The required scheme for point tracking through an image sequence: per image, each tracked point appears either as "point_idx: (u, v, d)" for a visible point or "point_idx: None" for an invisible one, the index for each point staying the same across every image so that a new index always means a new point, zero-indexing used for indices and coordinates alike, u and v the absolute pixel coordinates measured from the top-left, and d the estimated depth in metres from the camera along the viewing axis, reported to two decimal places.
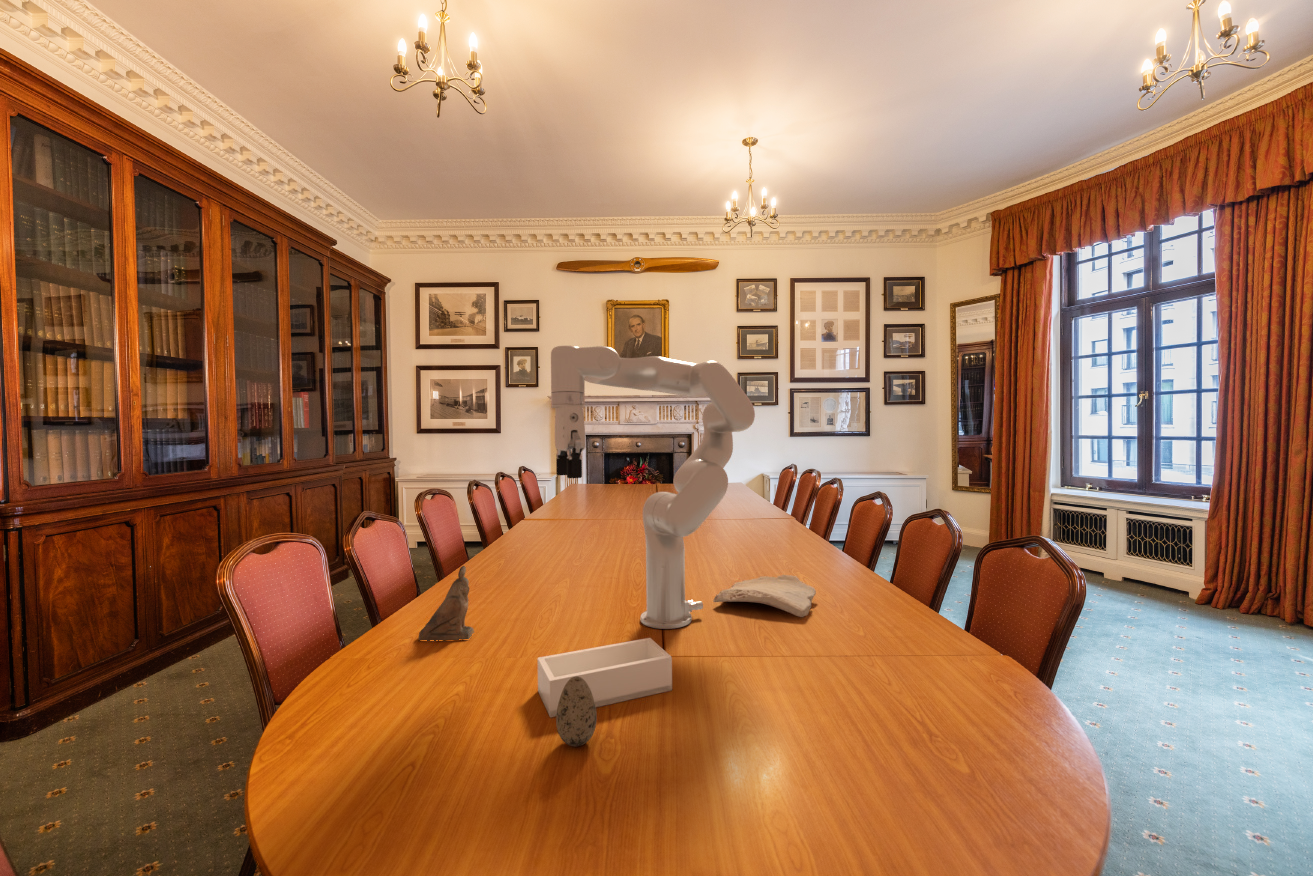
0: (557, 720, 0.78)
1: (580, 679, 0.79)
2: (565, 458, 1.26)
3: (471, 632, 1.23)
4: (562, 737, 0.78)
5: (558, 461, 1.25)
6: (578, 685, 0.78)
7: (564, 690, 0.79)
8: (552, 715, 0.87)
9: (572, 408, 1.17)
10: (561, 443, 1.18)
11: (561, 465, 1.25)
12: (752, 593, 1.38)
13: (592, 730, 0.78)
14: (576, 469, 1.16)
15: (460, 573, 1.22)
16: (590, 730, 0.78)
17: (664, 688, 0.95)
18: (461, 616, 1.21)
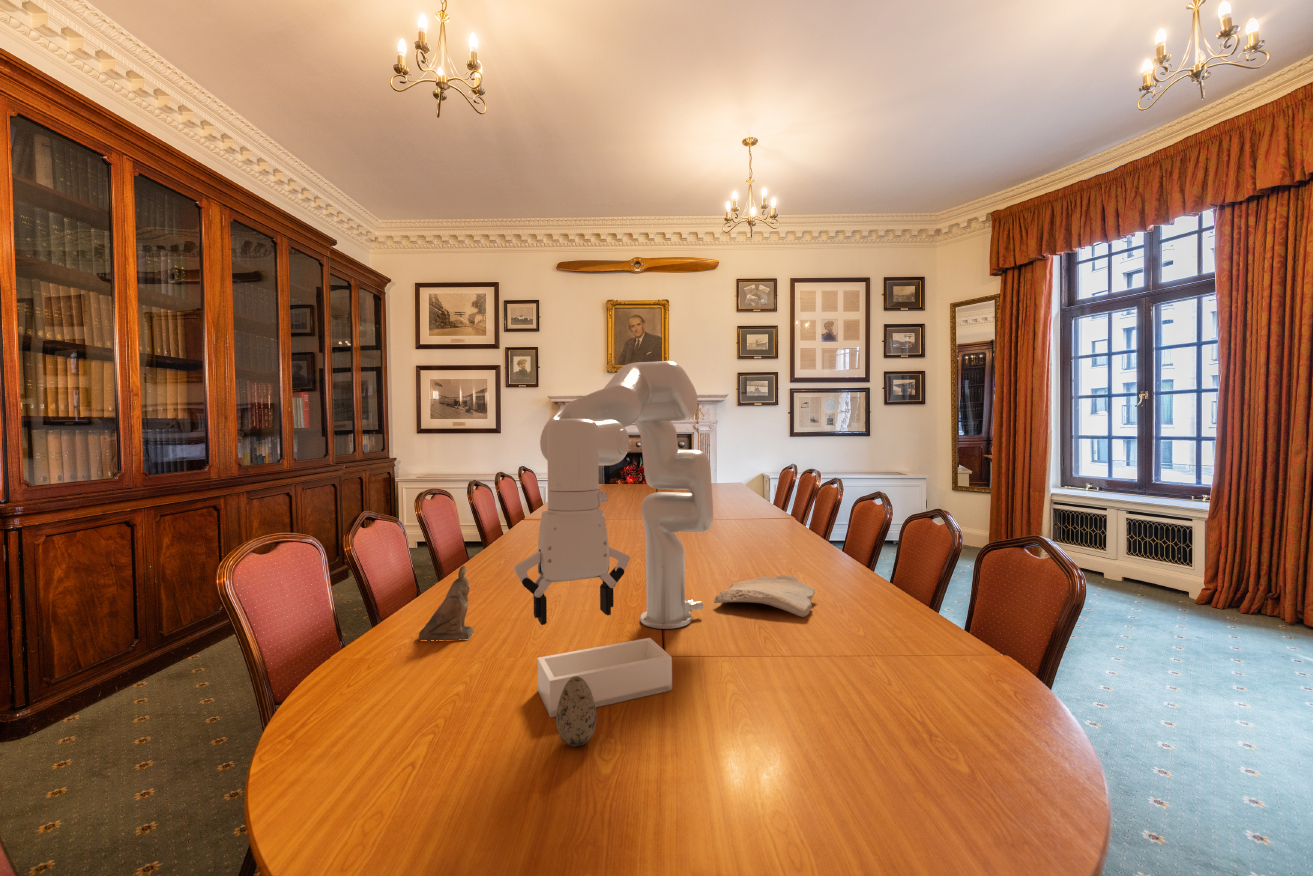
0: (557, 720, 0.78)
1: (580, 679, 0.79)
2: None
3: (471, 632, 1.23)
4: (562, 737, 0.78)
5: None
6: (578, 685, 0.78)
7: (564, 690, 0.79)
8: (552, 715, 0.87)
9: None
10: (594, 568, 0.78)
11: None
12: (753, 593, 1.37)
13: (592, 730, 0.78)
14: None
15: (460, 573, 1.22)
16: (590, 730, 0.78)
17: (664, 688, 0.95)
18: (461, 616, 1.21)
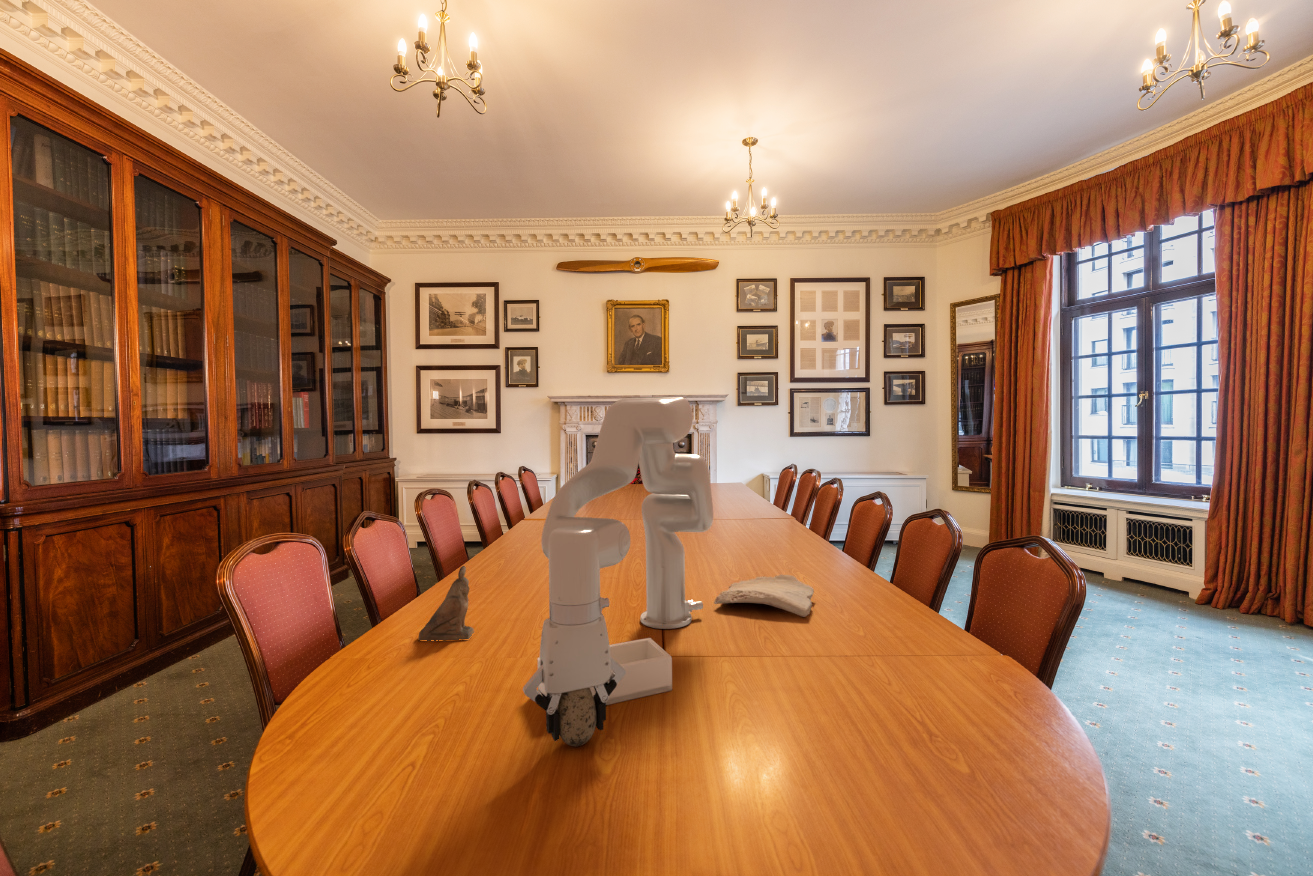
0: None
1: None
2: None
3: (471, 632, 1.23)
4: (562, 737, 0.78)
5: (558, 717, 0.77)
6: None
7: None
8: None
9: None
10: (596, 677, 0.79)
11: None
12: (754, 594, 1.37)
13: (592, 730, 0.78)
14: None
15: (460, 573, 1.22)
16: (590, 730, 0.78)
17: (664, 688, 0.95)
18: (461, 616, 1.21)
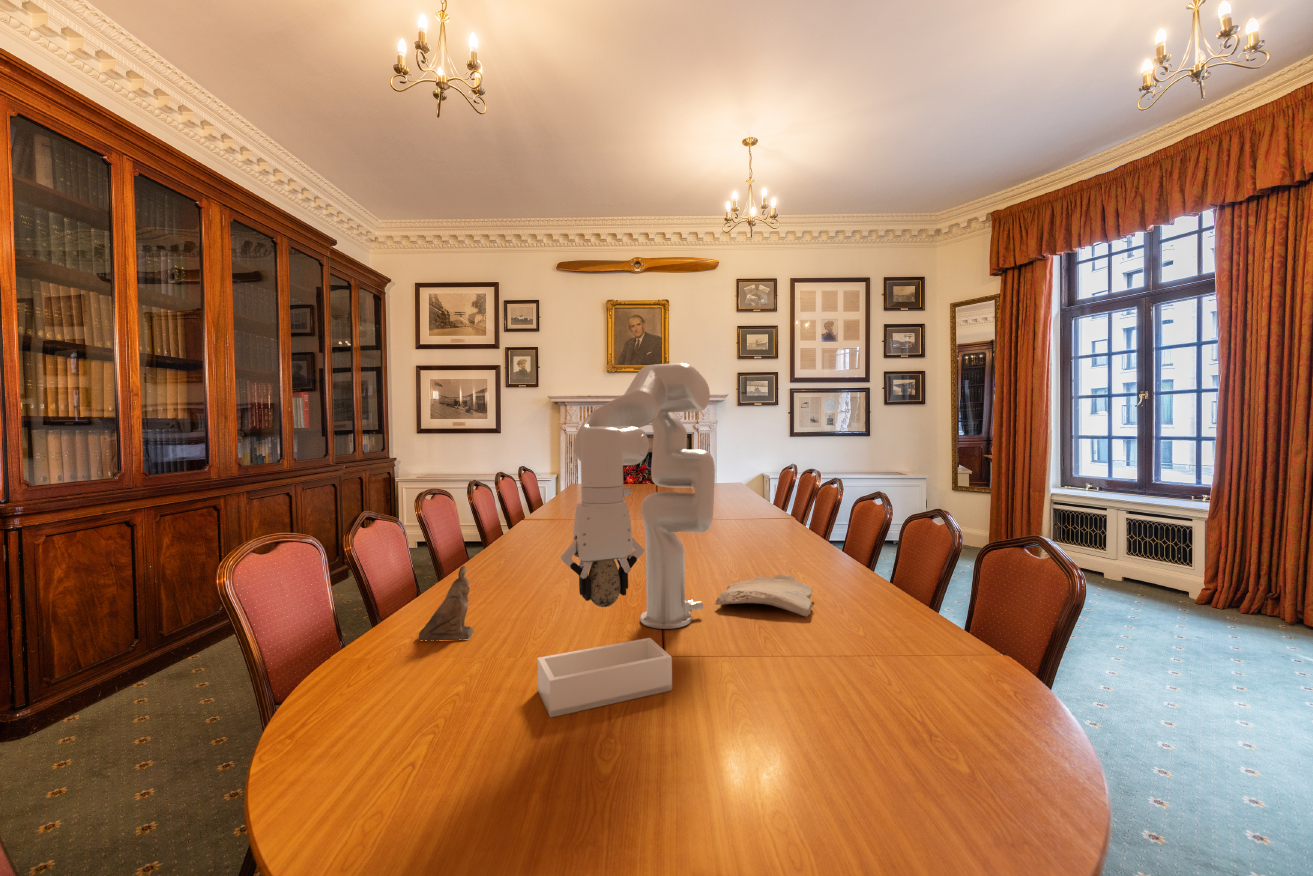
0: None
1: None
2: None
3: (471, 632, 1.23)
4: (593, 598, 0.94)
5: (589, 581, 0.94)
6: None
7: None
8: (552, 715, 0.87)
9: None
10: (620, 550, 0.95)
11: None
12: (755, 594, 1.37)
13: (617, 593, 0.95)
14: None
15: (460, 573, 1.22)
16: (616, 592, 0.94)
17: (664, 688, 0.95)
18: (461, 616, 1.21)
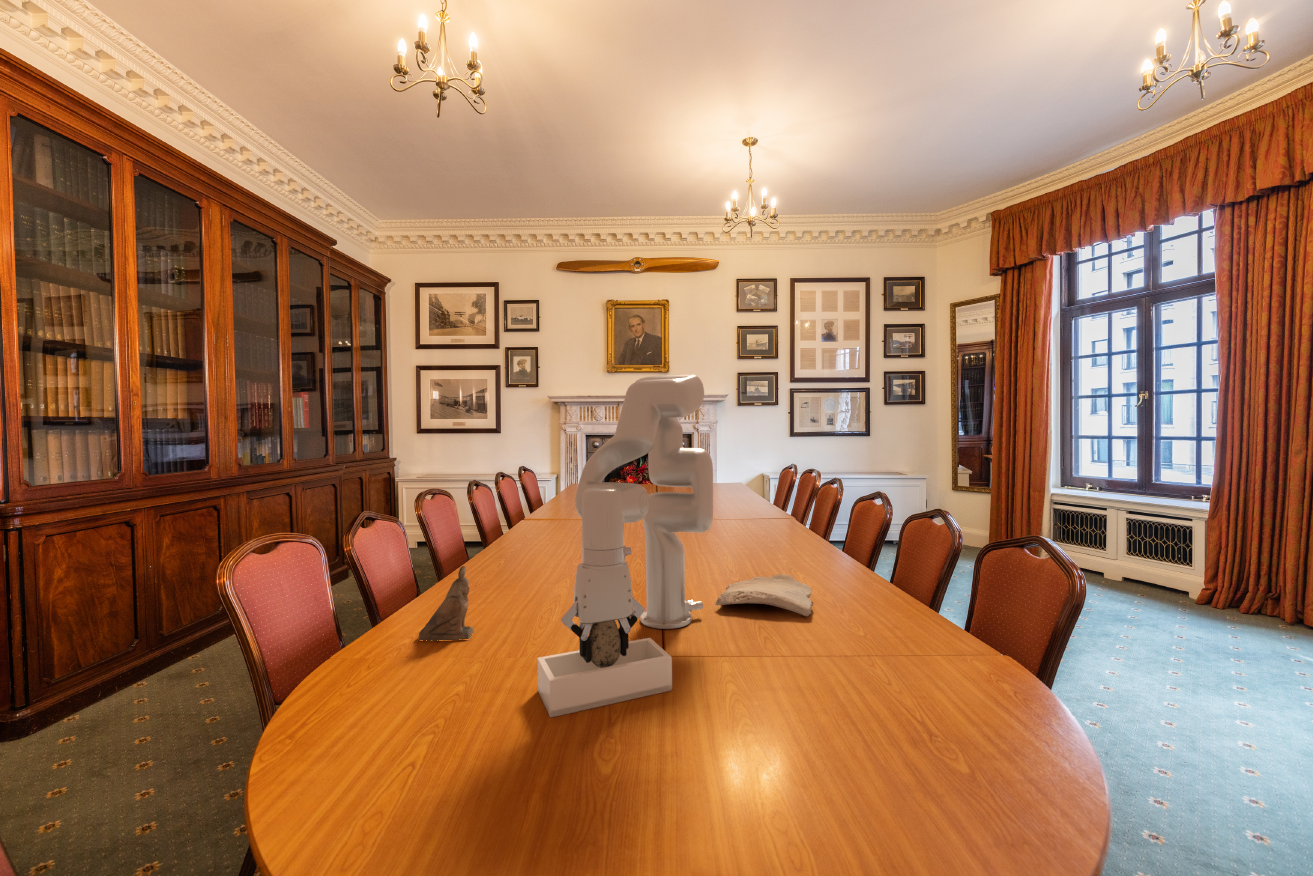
0: None
1: None
2: None
3: (471, 632, 1.23)
4: (593, 660, 0.94)
5: (590, 643, 0.94)
6: None
7: None
8: (552, 715, 0.87)
9: None
10: (621, 611, 0.95)
11: None
12: (756, 594, 1.37)
13: (617, 654, 0.95)
14: None
15: (460, 573, 1.22)
16: (616, 654, 0.94)
17: (664, 688, 0.95)
18: (461, 616, 1.21)
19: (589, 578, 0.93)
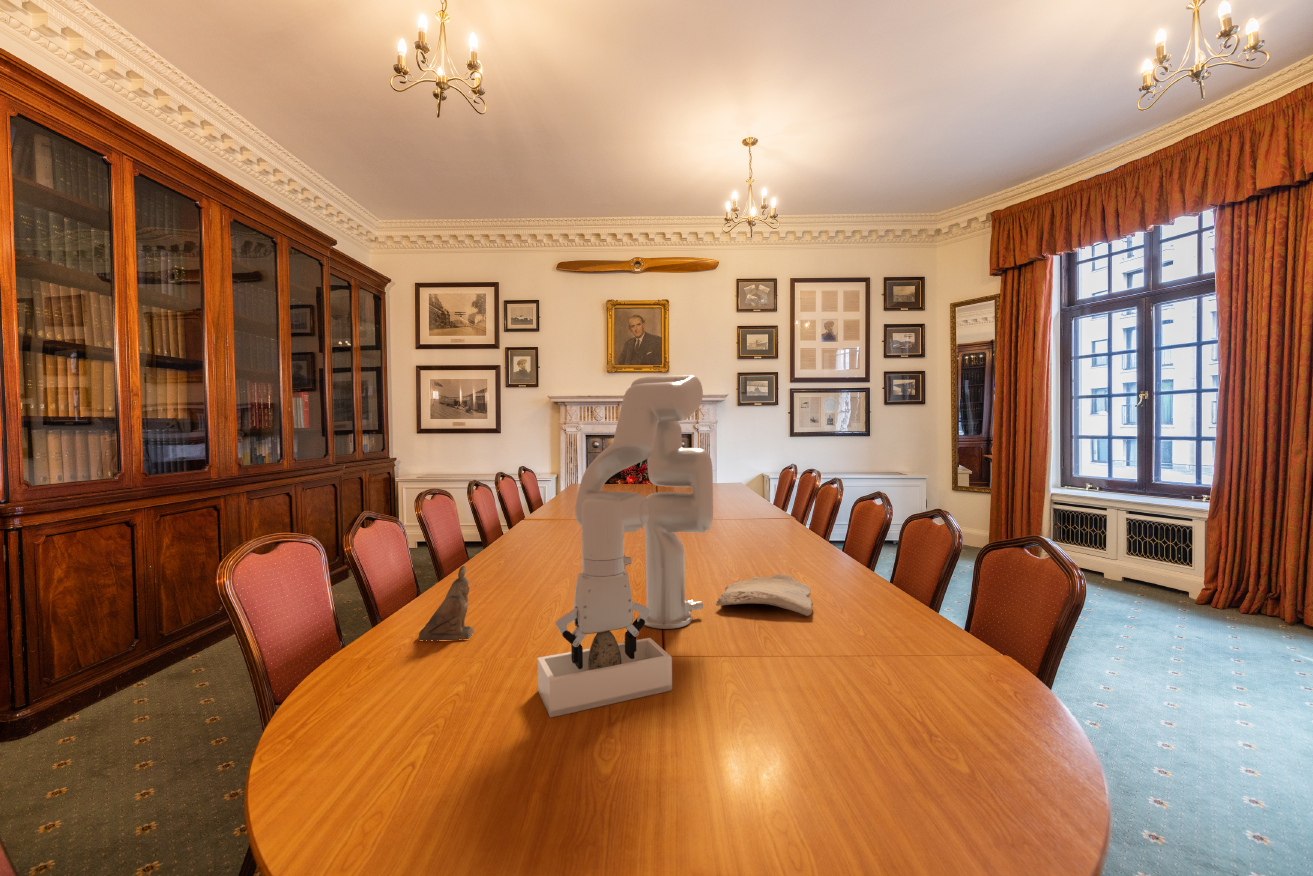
0: (589, 664, 0.95)
1: None
2: None
3: (471, 632, 1.23)
4: None
5: None
6: (606, 635, 0.95)
7: (595, 639, 0.95)
8: (552, 715, 0.87)
9: None
10: (621, 621, 0.95)
11: None
12: (756, 594, 1.37)
13: None
14: None
15: (460, 573, 1.22)
16: None
17: (664, 688, 0.95)
18: (461, 616, 1.21)
19: (589, 588, 0.93)
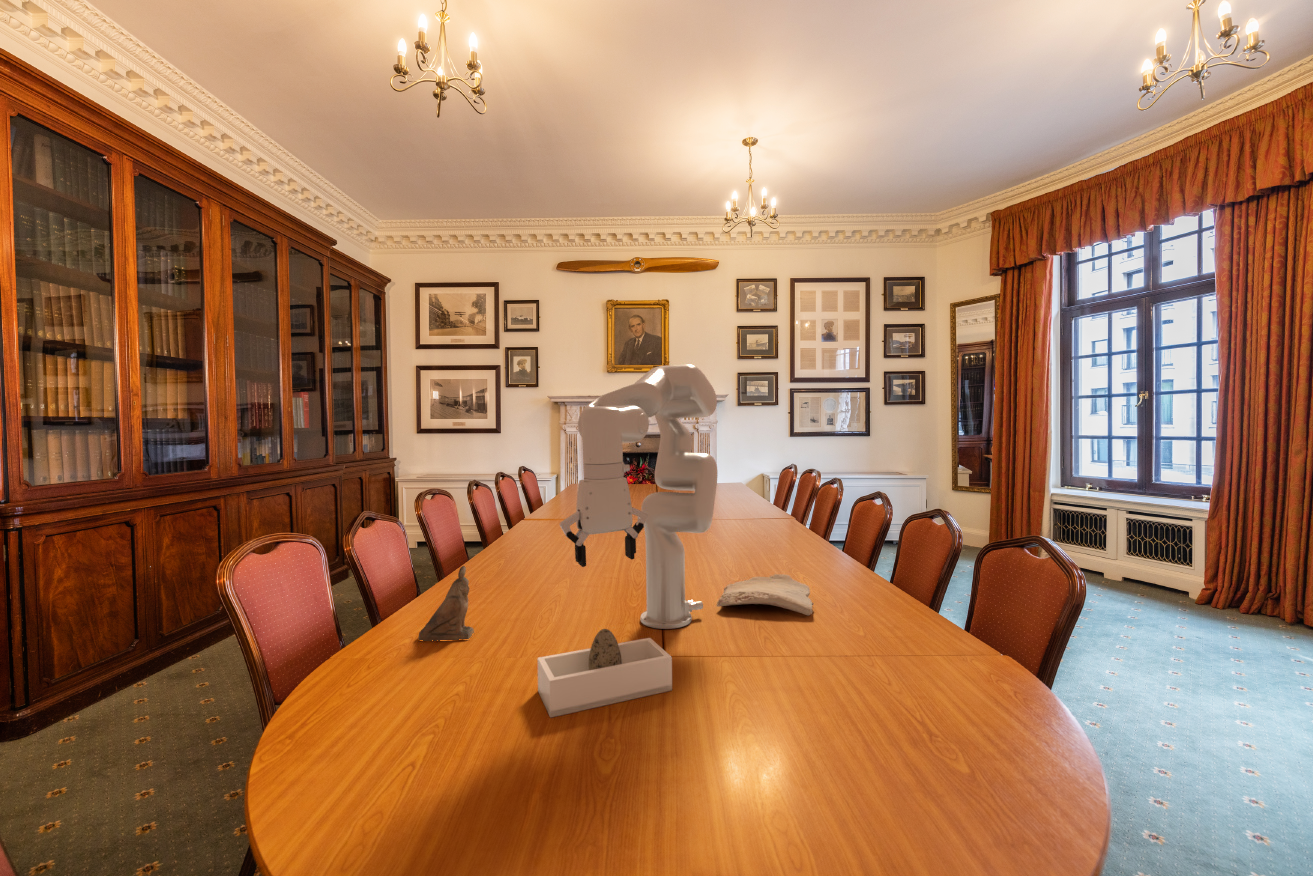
0: (589, 664, 0.95)
1: (608, 631, 0.96)
2: None
3: (471, 632, 1.23)
4: None
5: None
6: (607, 635, 0.95)
7: (595, 639, 0.95)
8: (552, 715, 0.87)
9: None
10: (621, 523, 1.01)
11: None
12: (757, 595, 1.36)
13: None
14: None
15: (460, 573, 1.22)
16: None
17: (664, 688, 0.95)
18: (461, 616, 1.21)
19: (590, 491, 0.98)
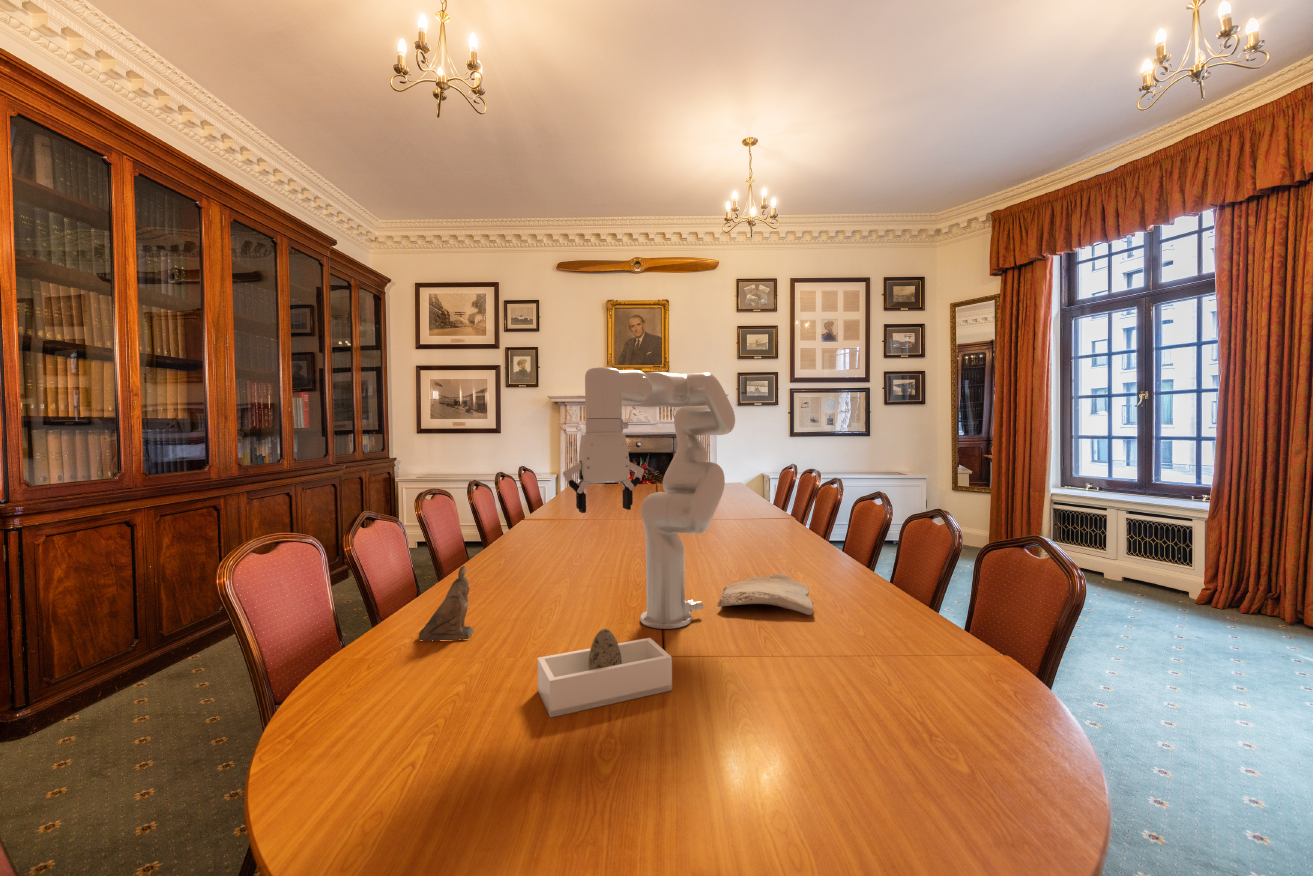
0: (589, 664, 0.95)
1: (608, 631, 0.96)
2: None
3: (471, 632, 1.23)
4: None
5: (585, 496, 1.08)
6: (607, 635, 0.95)
7: (595, 639, 0.95)
8: (552, 715, 0.87)
9: None
10: (619, 474, 1.10)
11: None
12: (758, 595, 1.36)
13: None
14: None
15: (460, 573, 1.22)
16: None
17: (664, 688, 0.95)
18: (461, 616, 1.21)
19: (592, 443, 1.07)
